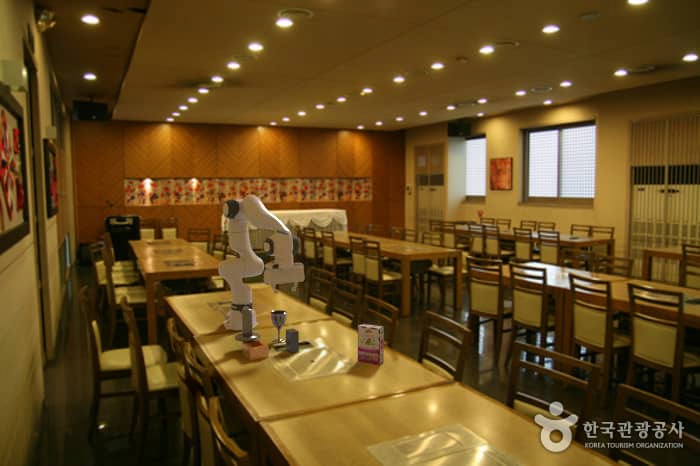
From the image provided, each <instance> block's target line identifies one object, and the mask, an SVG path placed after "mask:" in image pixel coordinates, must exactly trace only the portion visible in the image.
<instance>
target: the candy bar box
mask: <svg viewBox="0 0 700 466" xmlns="http://www.w3.org/2000/svg"><path fill="white" fill-rule="evenodd" d="M384 332H385V326H382V325H376V324H369V323H368V324H367V323H361V324H359V325H357V361H358V362H363V363H366V364H367V363H368V364H373V365H381V364H382V363H384V361H385V358H384V357H385V356H384V355H385V333H384Z"/></svg>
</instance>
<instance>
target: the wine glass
mask: <svg viewBox="0 0 700 466" xmlns="http://www.w3.org/2000/svg"><path fill="white" fill-rule="evenodd" d="M287 313H288V312H287V310H284V309H283V310H280V309H279V310H278V309H275V310H272V311H270V321H271V323H272V325H273V326H274V327H275V328H276V330H277V338H275V339H273V340H271V342H272V343H274V344H282V343H286V338H285V339H284V338H281V336H280V335H281V329H282V328H283V326H284V325H285V324H286V321H287Z"/></svg>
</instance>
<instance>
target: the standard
mask: <svg viewBox="0 0 700 466" xmlns="http://www.w3.org/2000/svg"><path fill="white" fill-rule="evenodd" d="M241 331H242V332H241V333H237V334H236V335H234V340H235V341H238V342H241V343H242V344H241V345H242V355H243V356H245V357H246V358H247V359H248V360H249V361H255V360H263V359H266V358H269V345H268V344H266V343H265V342H263V341H262V340H261V334H259V332H258V333H257V332H254V331H253V329H252V309H251V308H244V309H242V330H241Z"/></svg>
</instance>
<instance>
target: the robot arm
mask: <svg viewBox="0 0 700 466" xmlns="http://www.w3.org/2000/svg"><path fill="white" fill-rule="evenodd" d="M222 205H223V206H222V213H223V216H224V217H225V218H226V219H228V222H227V223H228V224H227V225H228V226H227V232H228V242H229V243H228V244H229V248H230V250H232V251H233V252H236V253H238V255H239V257H238V258H237V257H236V258H235V257H234V258H228V259H225V260H224V259H223V260H222V261H220V262H219V264H218V268H217V270H218V271H217V272H218V275H219V277H221V278H222V279H224V280H225V281H226V282H227V284H228V285H229V287H230V293H231V303H230V309H229V311H228V312H227V313H226V315H224V319H225V320H224V321H222V324H223V327H224V328H225V330H228V331H231V330H232V331H242V309H244V308H251V309H252V330H253V329H254V328H256V327H258V326H259V325H260V324H259V322H257V314H256V310H254V302H253V289H252V287H251V286H250V285H248V284H247V283H245V282H243V278H252V277H257V276H259V275H262V274H263V283H264V285H267V286H271V288H272V290H273V294H274V295H275V294H279V289H276V285H281V284H290V283H291V284H294V285H293V287H291V292H297V287H298V285H299V282H300V283H301V282H304V281H305V278H306V277H305V272H304V271H305V265H304V264H303V263H301V262H294V256H295V255H296V254H297V253H298V252H299V250H300V248H301V243H300V239H299V238H298V237H297V236H296V235H295V234H294V233H292V232H291V231H290V229H288V227H287V226H286V225H285V223H284V222H283V221H282V220H281V219H280V218H279V217H277V216H276V215H274V214H273V213H271V211H270V210H268V209H267V208H266V206H265V205H264V203H263V202H262V200H261V199H260V198H259V197H258V196H256V195H254V194H247V195H246V196H244V197H243V198H235V199H234V198H233V199H231V198H230V199H227V200H225V201H224V203H223V204H222ZM248 223H250V225H251V226H252V227H255V228H259V229H265V230H270V231H273V232H274V233H273V235H271V236H268V237H266V238H265V239H264V241H263V244H262V245H263V247H262V249H263V252H264V253H265V254H266V255H267V256H271V257H274V260H272V261H270V262H267V263H265V264H264V260H262V258H261V257H259V256H258V255H256V253H255V251H253V248H252V246H251V241H250V233H249V224H248ZM263 272H264V273H263Z"/></svg>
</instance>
